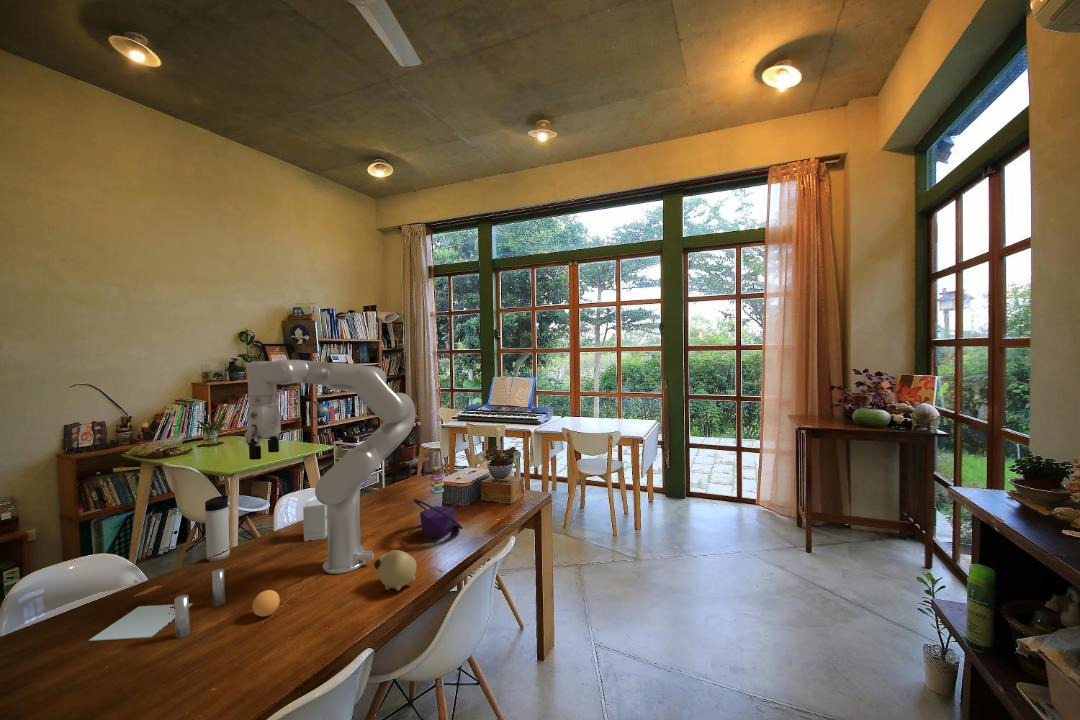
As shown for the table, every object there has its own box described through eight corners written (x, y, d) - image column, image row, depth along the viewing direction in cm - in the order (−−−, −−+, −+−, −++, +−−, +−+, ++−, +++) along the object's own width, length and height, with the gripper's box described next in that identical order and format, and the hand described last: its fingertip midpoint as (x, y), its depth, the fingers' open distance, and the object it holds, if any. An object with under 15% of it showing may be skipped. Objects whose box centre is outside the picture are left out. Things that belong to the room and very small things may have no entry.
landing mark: (193, 604, 119) (193, 603, 119) (150, 637, 105) (150, 636, 105) (139, 607, 118) (138, 606, 118) (88, 641, 104) (88, 640, 104)
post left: (192, 630, 107) (191, 594, 107) (184, 637, 105) (183, 600, 105) (181, 631, 107) (179, 594, 107) (172, 638, 105) (171, 600, 105)
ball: (284, 607, 117) (283, 584, 117) (272, 621, 111) (271, 597, 111) (261, 608, 116) (260, 586, 116) (247, 622, 110) (246, 598, 110)
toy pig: (396, 573, 134) (395, 538, 134) (423, 584, 127) (422, 547, 127) (368, 588, 125) (367, 551, 125) (396, 600, 119) (394, 561, 119)
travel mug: (235, 554, 150) (233, 495, 149) (215, 563, 143) (213, 501, 143) (222, 551, 152) (220, 494, 151) (202, 560, 145) (200, 500, 145)
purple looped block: (480, 533, 162) (478, 466, 162) (432, 554, 146) (430, 479, 146) (442, 519, 177) (441, 457, 176) (395, 537, 161) (393, 468, 160)
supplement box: (325, 539, 160) (324, 504, 160) (303, 541, 158) (302, 506, 158) (330, 531, 167) (329, 498, 167) (309, 533, 166) (308, 500, 165)
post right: (227, 600, 120) (226, 568, 120) (220, 606, 118) (219, 572, 118) (217, 601, 120) (216, 568, 120) (210, 606, 118) (209, 573, 118)
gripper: (258, 403, 129) (260, 461, 129) (289, 397, 146) (291, 449, 146) (232, 404, 128) (234, 462, 128) (266, 398, 145) (268, 450, 146)
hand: (264, 455), depth 137 cm, fingers open, 9 cm apart
